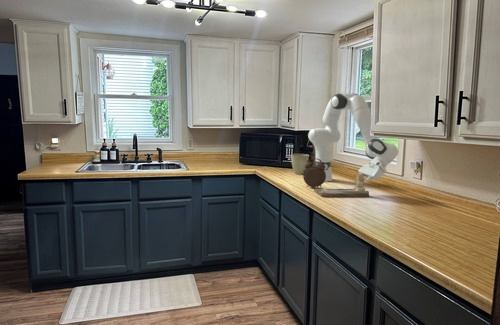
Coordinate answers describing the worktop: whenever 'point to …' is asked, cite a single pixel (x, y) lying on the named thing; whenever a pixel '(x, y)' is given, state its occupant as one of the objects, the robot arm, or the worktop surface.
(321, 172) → the alarm clock
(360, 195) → the walnut board
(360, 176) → the stacked beige blocks
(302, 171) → the plant pot
